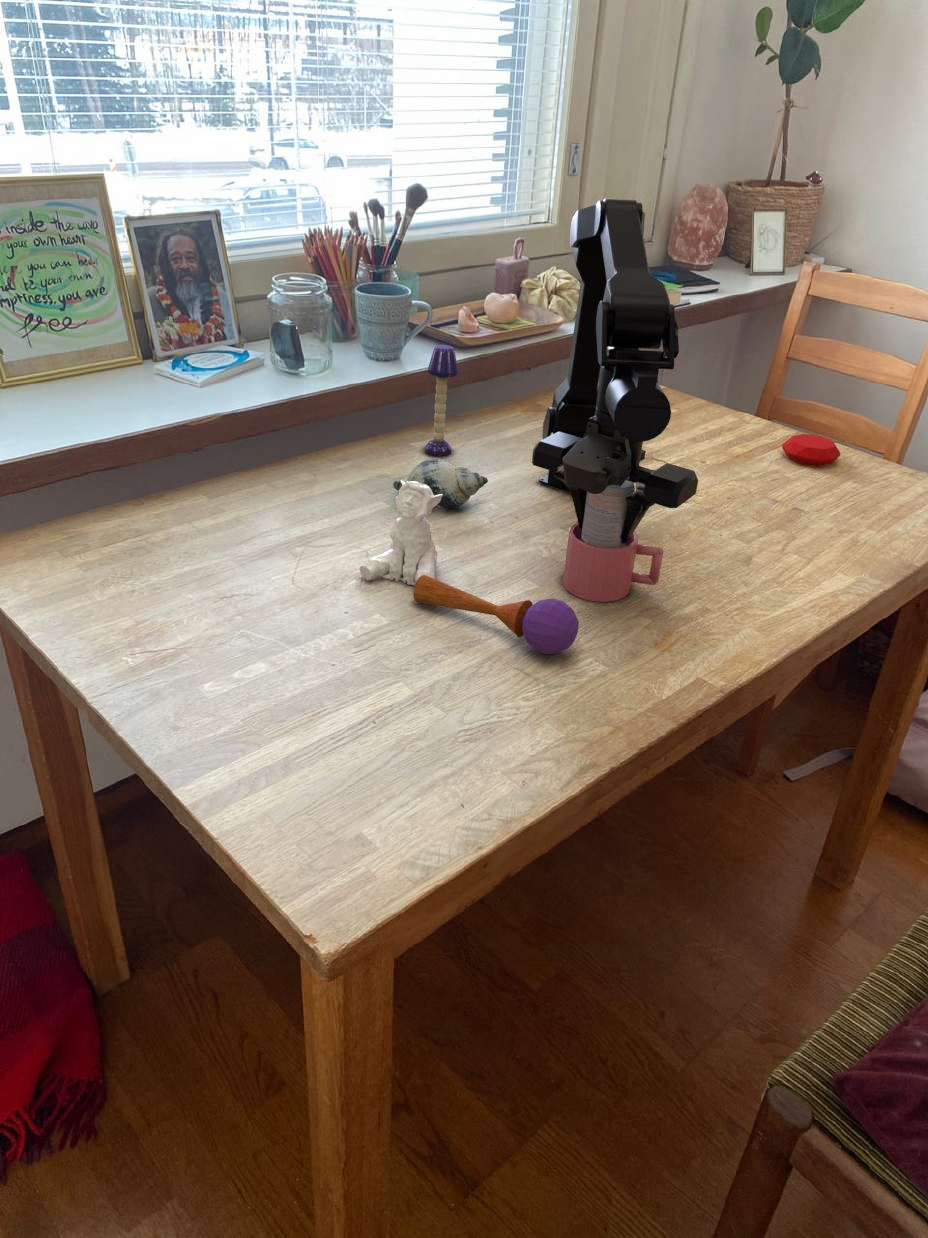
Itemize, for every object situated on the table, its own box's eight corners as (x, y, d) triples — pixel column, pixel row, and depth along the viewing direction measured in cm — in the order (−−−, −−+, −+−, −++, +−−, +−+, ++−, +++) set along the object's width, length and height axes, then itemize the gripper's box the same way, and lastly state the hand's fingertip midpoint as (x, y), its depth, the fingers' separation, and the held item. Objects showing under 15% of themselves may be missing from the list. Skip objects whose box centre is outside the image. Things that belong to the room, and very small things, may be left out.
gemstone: (791, 444, 162) (795, 427, 160) (843, 457, 158) (848, 440, 156) (773, 458, 156) (777, 441, 154) (827, 473, 151) (831, 455, 150)
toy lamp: (427, 444, 153) (431, 341, 144) (456, 447, 153) (461, 344, 144) (422, 454, 149) (425, 349, 140) (451, 457, 149) (456, 352, 140)
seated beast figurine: (357, 579, 114) (356, 487, 107) (389, 551, 121) (389, 463, 114) (428, 597, 111) (431, 504, 105) (457, 567, 118) (461, 477, 111)
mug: (559, 596, 113) (566, 544, 109) (566, 565, 120) (572, 515, 116) (655, 609, 111) (665, 557, 108) (656, 577, 118) (665, 527, 114)
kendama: (437, 559, 111) (591, 600, 101) (433, 607, 113) (583, 652, 103) (408, 569, 106) (566, 613, 96) (404, 618, 108) (558, 667, 98)
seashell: (421, 495, 139) (480, 521, 133) (387, 487, 134) (447, 514, 127) (434, 454, 138) (495, 478, 131) (401, 444, 132) (462, 469, 125)
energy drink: (624, 563, 116) (639, 474, 110) (616, 583, 112) (630, 492, 105) (582, 554, 118) (595, 465, 111) (572, 574, 113) (584, 483, 107)
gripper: (511, 406, 103) (501, 534, 111) (667, 450, 94) (643, 585, 102) (563, 383, 111) (550, 504, 119) (711, 422, 102) (686, 550, 110)
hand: (603, 534), depth 112 cm, fingers closed on energy drink, 5 cm apart
